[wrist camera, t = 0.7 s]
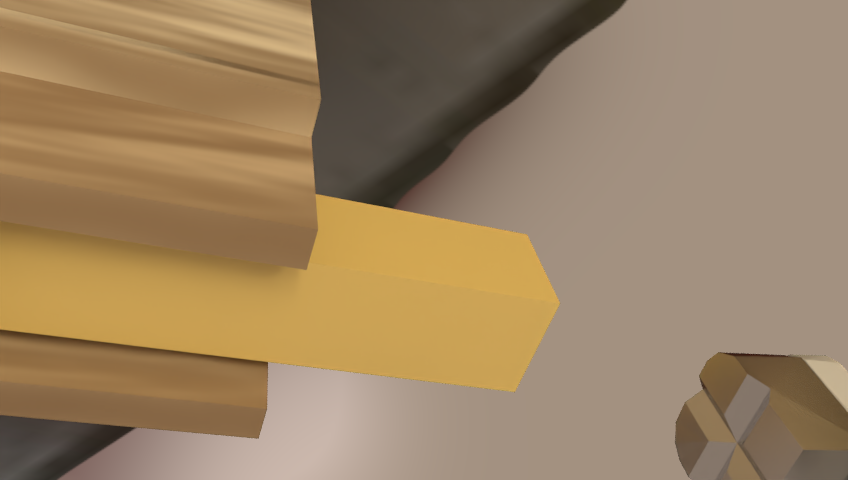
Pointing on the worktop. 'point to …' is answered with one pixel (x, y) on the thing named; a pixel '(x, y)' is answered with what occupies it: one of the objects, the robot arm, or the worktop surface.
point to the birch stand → (155, 180)
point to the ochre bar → (300, 297)
